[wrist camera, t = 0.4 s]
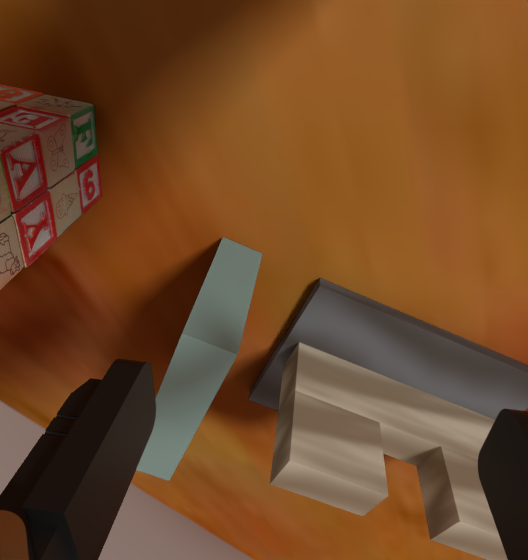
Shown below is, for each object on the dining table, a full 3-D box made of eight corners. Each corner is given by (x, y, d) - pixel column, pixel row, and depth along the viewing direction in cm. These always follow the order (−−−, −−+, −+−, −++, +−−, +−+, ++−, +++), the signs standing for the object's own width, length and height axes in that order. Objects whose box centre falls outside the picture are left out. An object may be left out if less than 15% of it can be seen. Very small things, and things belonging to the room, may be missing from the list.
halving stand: (319, 278, 30) (316, 400, 21) (551, 375, 32) (637, 522, 23) (249, 391, 38) (225, 515, 29) (440, 462, 40) (472, 597, 31)
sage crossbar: (222, 237, 29) (182, 333, 21) (262, 253, 29) (237, 354, 21) (172, 361, 37) (128, 467, 29) (203, 373, 37) (169, 480, 29)
